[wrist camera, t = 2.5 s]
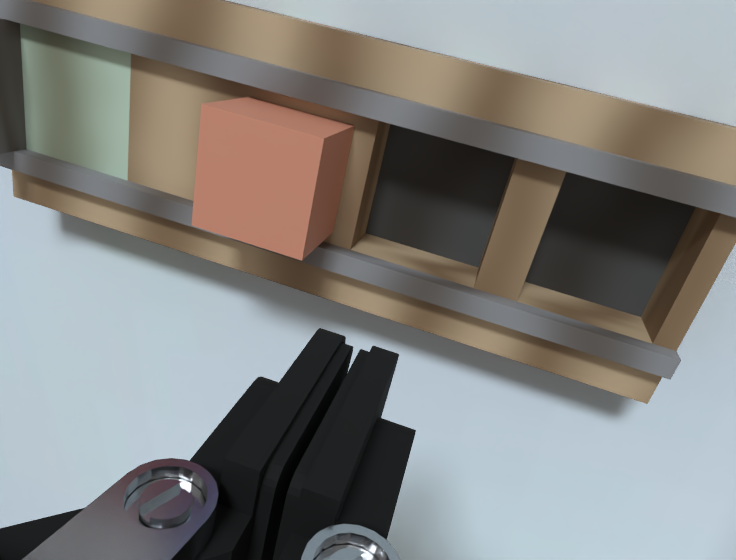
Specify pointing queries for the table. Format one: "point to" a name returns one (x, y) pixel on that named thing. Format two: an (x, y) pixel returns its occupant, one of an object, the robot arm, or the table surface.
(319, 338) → the robot arm
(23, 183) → the track
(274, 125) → the block
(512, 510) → the table surface
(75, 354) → the table surface
